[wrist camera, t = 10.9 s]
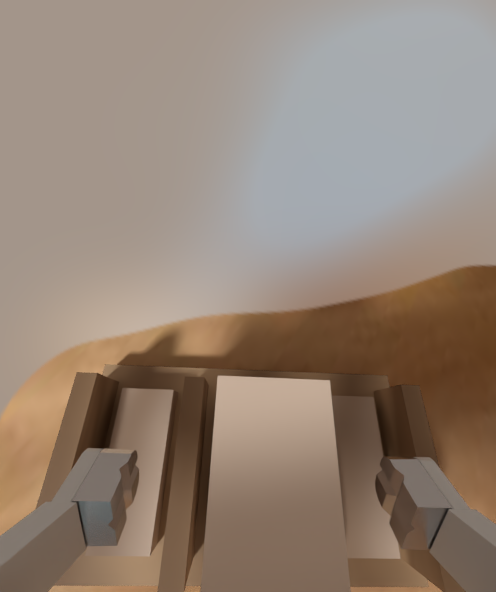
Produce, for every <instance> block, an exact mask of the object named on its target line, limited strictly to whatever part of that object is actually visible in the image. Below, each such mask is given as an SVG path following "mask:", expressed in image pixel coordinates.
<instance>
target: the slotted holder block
mask: <svg viewBox="0 0 496 592" xmlns="http://www.w3.org/2000/svg"><path fill="white" fill-rule="evenodd" d="M218 376H241V377H264V378H288V379H311V380H330V387H331V397H332V407H333V417H334V427H335V438H336V448H337V458H338V468H339V478H340V488H341V498H342V508H343V519H344V529H345V539H346V549H347V559H348V569H349V579H350V587H429V586H428V580H429V581H430V582H432V583H433V584H434V585H435V586H437V587H438V588H439V589H441V590H442V591H443V592H466V591H465V590H464V589H463V588H462V587H461V586H460V585H459V584H458V583H457V581H456V580H455V579H454V578H453V577H452V576H451V575H450V574H449V573H448V572H447V571H446V570H445V569H444V567H443V566H442V565H441V564H440V563H439V562H438V561H437V560H436V559H435V558H434V557H433V556H432V555H431V553H430V550H411V549H401V548H400V545H399V543H398V541H397V539H396V537H395V535H394V533H393V530H392V528H391V526H390V524H389V521H390V515H389V514H388V513H387V512H386V511H385V510H384V509H383V508H382V507H381V504H380V502H379V500H378V497H377V494H376V489H375V479H376V475H377V473H379V472H380V471H381V470H382V468H381V466H380V462H381V459H382V458H383V457H384V456H409V457H430V458H431V459H432V460H434V461H435V463H436V464H437V465H438V460H437V456H436V452H435V448H434V444H433V440H432V436H431V432H430V428H429V423H428V419H427V415H426V411H425V407H424V403H423V399H422V395H421V390H420V386H419V385H398V386H393V387H390V386H389V381H388V376H387V375H361V374H336V373H311V372H285V371H260V370H235V369H210V368H184V367H159V366H134V365H108V364H105V367H104V371H103V375H101V374H98V373H81V372H77V374H76V377H75V380H74V384H73V387H72V390H71V394H70V397H69V400H68V404H67V407H66V410H65V414H64V417H63V420H62V424H61V427H60V430H59V434H58V437H57V440H56V443H55V447H54V450H53V453H52V457H51V460H50V463H49V467H48V470H47V473H46V477H45V480H44V483H43V487H42V490H41V493H40V497H39V500H38V503H37V507H36V509H37V508H38V507H39V506H41V505H42V504H43V503H45V502H51V501H52V499H53V498H54V496H55V495H56V493H57V492H58V490H59V489H60V487H61V485H62V484H63V482H64V481H65V479H66V478H67V476H68V475H69V473H70V471H71V470H72V468H73V467H74V465H75V464H76V462H77V461H78V459H79V457H80V456H81V454H82V453H83V452H84V451H85V450H86V449H87V448H101V449H121V450H136V451H137V456H138V459H137V462H136V464H135V465H136V466H137V467H138V468H139V483H138V488H137V492H136V495H135V498H134V501H133V503H132V504H131V505H130V506H129V507H128V508H127V509H126V516H127V520H126V523H125V526H124V529H123V531H122V534H121V537H120V539H119V542H118V545H117V546H86V550H85V551H84V552H83V553H82V554H81V555H80V556H79V557H78V558H77V560H76V561H75V562H74V563H73V564H72V565H71V566H70V567H69V569H68V570H67V571H66V572H65V573H64V574H63V575H62V576H61V578H60V579H59V580H58V581H57V582H56V583H55V584H54V585H69V586H158V591H157V592H184V590H185V586H201V579H202V567H203V554H204V541H205V529H206V516H207V504H208V491H209V479H210V466H211V453H212V441H213V428H214V416H215V403H216V391H217V378H218ZM438 467H439V465H438ZM427 579H428V580H427Z"/></svg>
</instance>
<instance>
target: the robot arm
mask: <svg viewBox="0 0 496 592" xmlns="http://www.w3.org/2000/svg"><path fill="white" fill-rule="evenodd" d="M137 459H138V456H137V451H136V450H121V449H101V448H87V449H86V450H85V451H84V452H83V453H82V454H81V456H80V457H79V459H78V461H77V462H76V464H75V465H74V467H73V468H72V470H71V471H70V473H69V475H68V476H67V478H66V479H65V481H64V482H63V484H62V485H61V487H60V489H59V490H58V492H57V493H56V495H55V496H54V498H53V499H52V501H51V502H45V503H43V504H42V505H41V506H39V507H38V508H37V509H35V510H34V511H33V512H31V513H30V514H29V515H27V516H26V517H25V518H24V519H22V520H21V521H20V522H18V523H17V524H16V525H14V526H13V527H12V528H10V529H9V530H8V531H6V532H5V533H4V534H2V535H1V536H0V592H48V591H49V590H50V589H51V588H52V587H53V585H54V584H55V583H56V582H57V581H58V580H59V579H60V578H61V576H62V575H63V574H64V573H65V572H66V571H67V570H68V569H69V567H70V566H71V565H72V564H73V563H74V562H75V561H76V560H77V558H78V557H79V556H80V555H81V554H82V553H83V552H84V551H85V550H86V546H117V545H118V542H119V539H120V537H121V534H122V531H123V529H124V526H125V523H126V520H127V516H126V509H127V508H128V507H129V506H130V505H131V504H132V503H133V501H134V498H135V495H136V492H137V488H138V483H139V468H138V467H137V466H136V465H135V464H136V462H137ZM380 466H381V468H382V470H381V471H380V472H379V473H377V475H376V479H375V489H376V494H377V497H378V500H379V502H380V504H381V507H382V508H383V509H384V510H385V511H386V512H387V513H388V514H389V515H390V521H389V524H390V526H391V528H392V530H393V533H394V535H395V537H396V539H397V541H398V543H399V545H400V548H401V549H411V550H430V553H431V555H432V556H433V557H434V558H435V559H436V560H437V561H438V562H439V563H440V564H441V565H442V566H443V567H444V569H445V570H446V571H447V572H448V573H449V574H450V575H451V576H452V577H453V578H454V579H455V580H456V581H457V583H458V584H459V585H460V586H461V587H462V588H463V589H464V590H465V591H466V592H496V524H495V523H493V522H492V521H490V520H489V519H488V518H486V517H485V516H484V515H482V514H481V513H479V512H478V511H477V510H474V509H470V508H469V506H468V505H467V504H466V502H465V501H464V500H463V499H462V497H461V496H460V495H459V493H458V492H457V491H456V489H455V488H454V487H453V485H452V484H451V483H450V481H449V480H448V479H447V477H446V476H445V475H444V473H443V472H442V471H441V469H440V468H439V467H438V465H437V464H436V463H435V461H434V460H432V459H431V458H430V457H409V456H384V457H383V458H382V459H381V462H380Z"/></svg>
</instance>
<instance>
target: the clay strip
mask: <svg viewBox="0 0 496 592" xmlns="http://www.w3.org/2000/svg"><path fill="white" fill-rule="evenodd" d="M201 592H351V589H350V579H349V569H348V559H347V549H346V539H345V529H344V519H343V508H342V498H341V488H340V478H339V468H338V458H337V448H336V438H335V427H334V417H333V407H332V397H331V387H330V380H311V379H288V378H264V377H241V376H218V378H217V391H216V403H215V416H214V428H213V441H212V453H211V466H210V479H209V491H208V504H207V516H206V529H205V541H204V554H203V567H202V579H201Z"/></svg>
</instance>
